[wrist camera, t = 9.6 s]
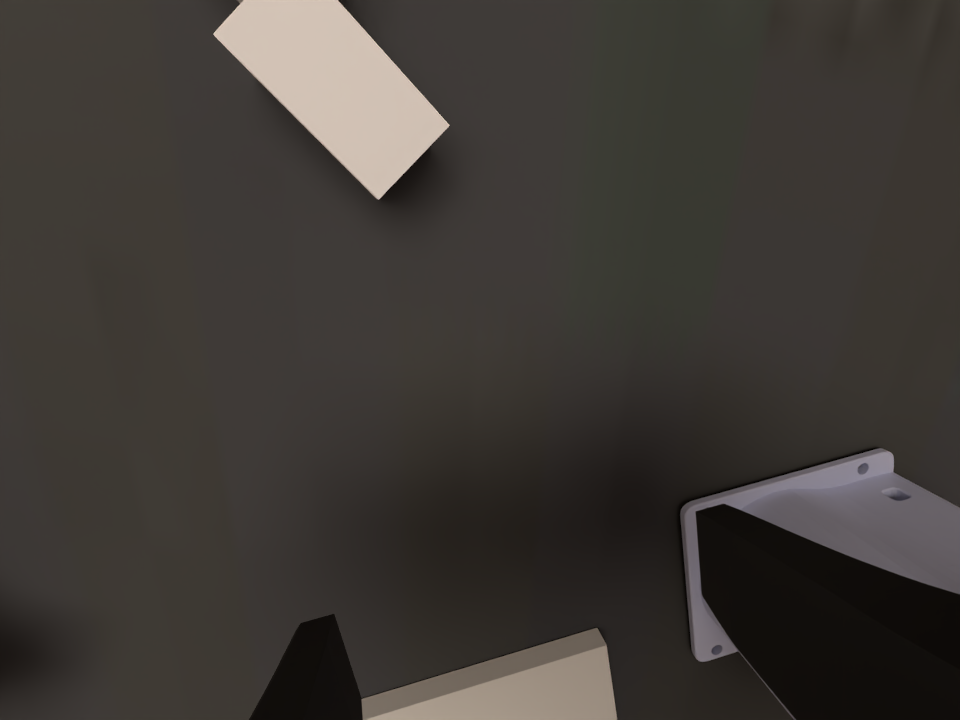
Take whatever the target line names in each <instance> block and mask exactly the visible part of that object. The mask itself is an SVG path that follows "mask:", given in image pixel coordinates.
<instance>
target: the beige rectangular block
mask: <svg viewBox="0 0 960 720" xmlns="http://www.w3.org/2000/svg"><path fill="white" fill-rule="evenodd" d="M237 1H238V2H239V3H240V5H239V6H238V7H237V8H236V9H235V10H234V11H233V13H232V14H231V15H230V16H229V17H228V18H227V19H226V20H225V21H224V23H223V24H222V25H221V26H220V27H219V28H218V29H217V30H216V31H215V32H214V34H213V35H214V36H215V37H216V38H217V39H218V40H219V41H220V42H221V43H222V44H223V45H224V46H225V47H226V48H227V49H228V50H229V51H230V52H231V53H232V54H233V55H234V56H235V57H236V58H237V59H238V61H239V62H240V63H241V64H242V65H243V66H244V67H245V68H246V69H247V70H248V71H249V72H250V73H251V74H252V75H253V76H254V77H255V78H256V79H257V80H258V81H259V82H260V83H261V84H262V85H263V86H264V87H265V88H266V89H267V90H268V91H269V92H270V93H271V94H272V95H273V96H274V97H275V98H276V99H277V100H278V101H279V102H280V103H281V104H282V105H283V106H284V107H285V108H286V109H287V110H288V111H289V112H290V113H291V114H292V115H293V116H294V117H295V118H296V119H297V120H298V121H299V122H300V123H301V124H302V125H303V126H304V127H305V128H306V129H307V130H308V131H309V132H310V133H311V134H312V135H313V136H314V137H315V138H316V139H317V140H318V141H319V142H320V143H321V144H322V145H323V146H324V147H325V148H326V149H327V150H328V151H329V152H330V153H331V154H332V155H333V156H334V157H335V158H336V159H337V160H338V161H339V162H340V163H341V164H342V165H343V166H344V167H345V168H346V169H347V170H348V171H349V172H350V173H351V174H352V175H353V176H354V177H355V178H356V179H357V180H358V181H359V182H360V183H361V184H362V185H363V186H364V187H365V188H366V189H367V190H368V191H369V192H370V193H371V194H372V195H373V196H374V197H375V198H376V199H378V200H379V199H380V198H381V197H382V196H383V195H384V194H385V193H386V192H387V191H388V189H389V188H390V187H391V186H392V185H393V184H394V183H395V182H396V181H397V180H398V179H399V178H400V177H401V176H402V175H403V174H404V173H405V172H406V171H407V170H408V169H409V168H410V166H411V165H412V164H413V163H414V162H415V161H416V160H417V159H418V158H419V157H420V156H421V155H422V154H423V153H424V152H425V151H426V150H427V149H428V148H429V147H430V146H431V144H432V143H433V142H434V141H435V140H436V139H437V138H438V137H439V136H440V135H441V134H442V133H443V132H444V131H445V130H446V129H447V128H448V127H449V126H450V125H449V124H448V123H447V122H446V121H445V120H444V118H443V117H442V116H441V115H440V114H439V113H438V112H437V111H436V110H435V108H434V107H433V106H432V105H431V104H430V103H429V102H428V101H427V99H426V98H425V97H424V96H423V95H422V94H421V93H420V92H419V91H418V89H417V88H416V87H415V86H414V85H413V84H412V83H411V82H410V80H409V79H408V78H407V77H406V76H405V75H404V74H403V73H402V72H401V70H400V69H399V68H398V67H397V66H396V65H395V64H394V63H393V61H392V60H391V59H390V58H389V57H388V56H387V55H386V54H385V52H384V51H383V50H382V49H381V48H380V47H379V46H378V45H377V44H376V42H375V41H374V40H373V39H372V38H371V37H370V36H369V35H368V33H367V32H366V31H365V30H364V29H363V28H362V27H361V26H360V25H359V23H358V22H357V21H356V20H355V19H354V18H353V17H352V16H351V14H350V13H349V12H348V11H347V10H346V9H345V8H344V7H343V5H342V4H341V3H340V2H339V1H338V0H237Z"/></svg>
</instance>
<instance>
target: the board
mask: <svg viewBox="0 0 960 720" xmlns="http://www.w3.org/2000/svg"><path fill="white" fill-rule="evenodd" d="M361 700H362V715H363V720H617V715H616V708H615V701H614V694H613V687H612V680H611V673H610V666H609V659H608V652H607V645H606V643H605V641H604V639H603V638H602V636H601V634H600V632H599V630H598V628H594V629H591V630H587V631H584V632H581V633H578V634H574V635H571V636H568V637H564V638H561V639H558V640H555V641H551V642H548V643H545V644H541V645H538V646H535V647H531V648H528V649H525V650H522V651H518V652H515V653H512V654H508V655H505V656H502V657H499V658H495V659H492V660H489V661H485V662H482V663H479V664H475V665H472V666H469V667H466V668H462V669H459V670H456V671H452V672H449V673H446V674H443V675H439V676H436V677H433V678H429V679H426V680H423V681H419V682H416V683H413V684H410V685H406V686H403V687H400V688H396V689H393V690H390V691H387V692H383V693H380V694H377V695H373V696H370V697H367V698H363V699H361Z"/></svg>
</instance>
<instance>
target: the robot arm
mask: <svg viewBox="0 0 960 720" xmlns="http://www.w3.org/2000/svg"><path fill="white" fill-rule="evenodd" d="M859 466H860V467H859ZM858 467H859V468H858ZM893 468H894V457H893V454H892V453H891V452H889V451H887V450H885V449H882V448H880V449H875V450H871V451H868V452H864V453H861V454H857V455H853V456H850V457H846V458H843V459H839V460H836V461H832V462H829V463H825V464H821V465H818V466H814V467H811V468H807V469H804V470H800V471H796V472H793V473H789V474H786V475H782V476H779V477H775V478H771V479H768V480H764V481H761V482H757V483H754V484H750V485H746V486H743V487H739V488H736V489H732V490H729V491H725V492H722V493H718V494H714V495H711V496H707V497H704V498H700V499H697V500H693V501H690V502H688V503H686V504H685V505H684V506H683V507H682V509H681V513H680V518H681V530H682V542H683V554H684V566H685V578H686V590H687V602H688V614H689V625H690V637H691V649H692V653H693V655H694V656H695V658H696V659H697V660H698V661H701V662H706V661H710V660H713V659H716V658H719V657H722V656H725V655H728V654H731V653H735V652H739V653H740V654H741V655H742V656H743V658H744V659H745V660H746V661H747V663H748V664H749V665H750V666H751V668H752V669H753V670H754V671H755V673H756V674H757V675H758V676H759V677H760V679H761V680H762V681H763V682H764V684H765V685H766V686H767V687H768V689H769V690H770V691H771V692H772V693H773V695H774V696H775V697H776V698H777V700H778V701H779V702H780V703H781V705H782V706H783V707H784V708H785V710H786V711H787V712H788V713H789V714H790V716H791V717H792V718H793V719H794V720H960V508H959V507H957V506H955V505H954V504H952V503H950V502H948V501H946V500H944V499H942V498H940V497H939V496H937V495H935V494H933V493H931V492H929V491H927V490H925V489H924V488H922V487H920V486H918V485H916V484H914V483H912V482H911V481H909V480H907V479H905V478H903V477H901V476H899V475H897V474H896V473H894V472H893ZM707 507H708V508H707ZM705 508H706V509H705ZM714 646H715V647H714ZM249 720H363V715H362V700H361V696H360V692H359V689H358V686H357V683H356V680H355V677H354V674H353V671H352V668H351V665H350V661H349V658H348V655H347V652H346V649H345V646H344V643H343V640H342V637H341V634H340V631H339V627H338V624H337V621H336V618H335V615H334V614H332V615H328V616H325V617H321V618H318V619H314V620H311V621H307V622H303V623H301V624H300V625H299V627H298V628H297V630H296V632H295V634H294V636H293V638H292V639H291V641H290V643H289V645H288V647H287V649H286V651H285V653H284V655H283V657H282V659H281V661H280V663H279V665H278V667H277V669H276V671H275V673H274V675H273V677H272V679H271V680H270V682H269V684H268V686H267V688H266V690H265V692H264V694H263V696H262V697H261V699H260V701H259V703H258V705H257V706H256V708H255V710H254V712H253V714H252V715H251V717H250V719H249Z"/></svg>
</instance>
